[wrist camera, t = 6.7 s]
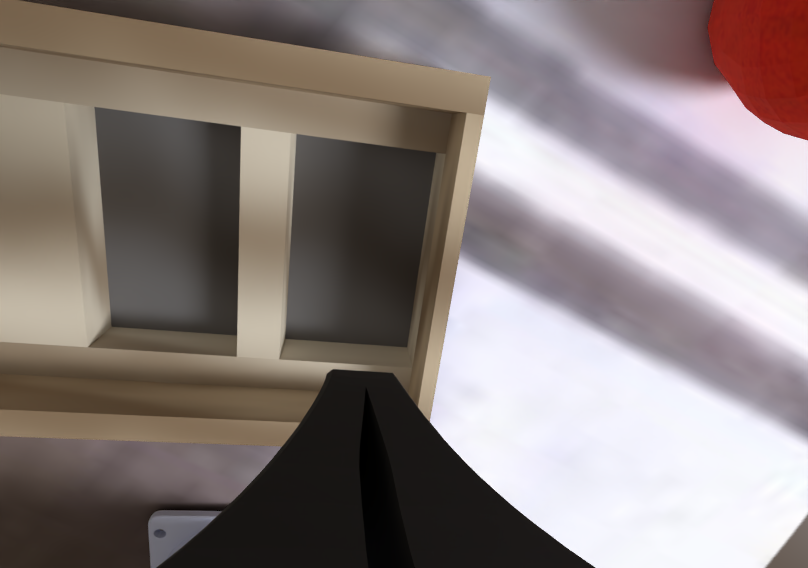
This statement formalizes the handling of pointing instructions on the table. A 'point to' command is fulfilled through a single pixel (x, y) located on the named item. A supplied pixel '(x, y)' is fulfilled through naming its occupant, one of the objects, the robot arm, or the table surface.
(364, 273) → the box
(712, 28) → the apple
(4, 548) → the table surface
